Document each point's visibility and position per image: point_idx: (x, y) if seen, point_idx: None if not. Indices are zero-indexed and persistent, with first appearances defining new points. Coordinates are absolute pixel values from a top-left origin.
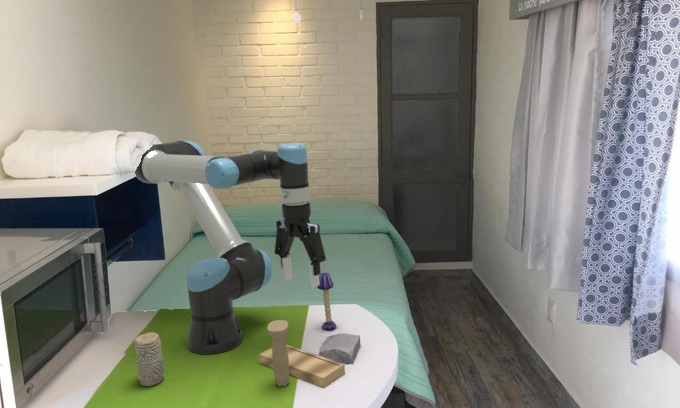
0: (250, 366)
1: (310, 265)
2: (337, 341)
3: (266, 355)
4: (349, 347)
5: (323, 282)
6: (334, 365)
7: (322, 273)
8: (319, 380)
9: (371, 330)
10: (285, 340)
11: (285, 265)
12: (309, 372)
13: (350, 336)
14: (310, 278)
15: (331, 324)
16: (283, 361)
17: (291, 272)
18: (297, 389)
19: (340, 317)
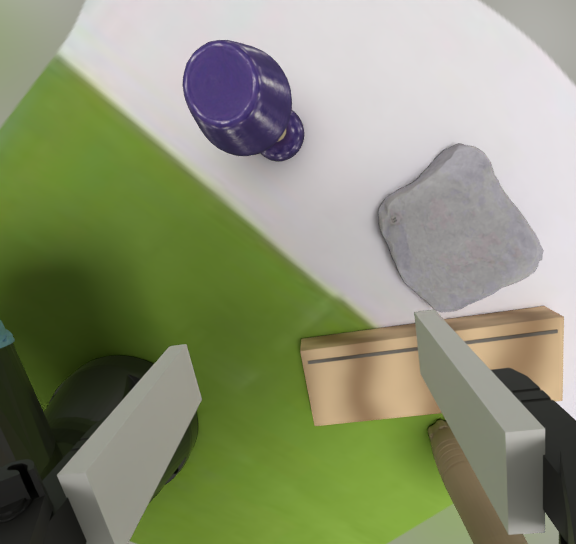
0: (311, 430)
1: (521, 521)
2: (448, 239)
3: (336, 418)
4: (535, 257)
5: (262, 133)
6: (542, 339)
7: (197, 85)
8: None
9: (414, 30)
10: (524, 538)
11: (153, 480)
12: None
13: (463, 184)
14: (445, 414)
15: (294, 134)
16: None
17: (169, 371)
18: None
19: (234, 36)
